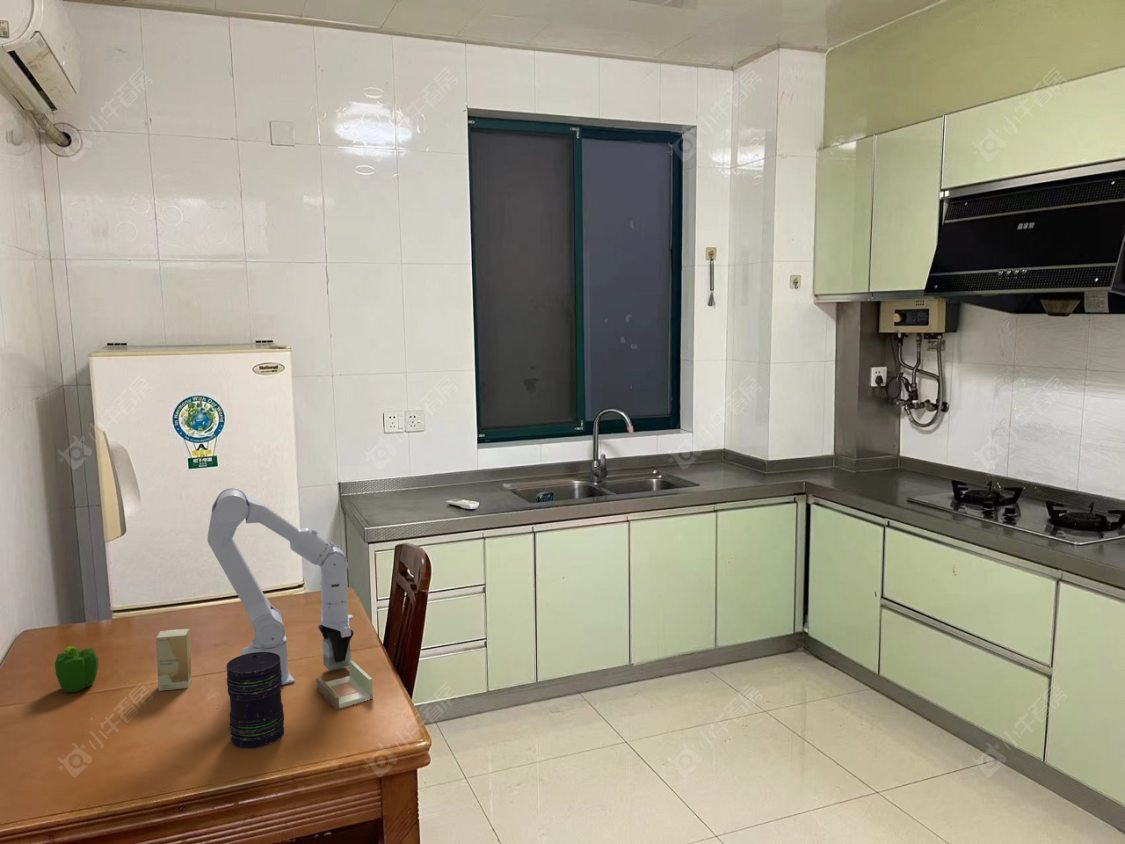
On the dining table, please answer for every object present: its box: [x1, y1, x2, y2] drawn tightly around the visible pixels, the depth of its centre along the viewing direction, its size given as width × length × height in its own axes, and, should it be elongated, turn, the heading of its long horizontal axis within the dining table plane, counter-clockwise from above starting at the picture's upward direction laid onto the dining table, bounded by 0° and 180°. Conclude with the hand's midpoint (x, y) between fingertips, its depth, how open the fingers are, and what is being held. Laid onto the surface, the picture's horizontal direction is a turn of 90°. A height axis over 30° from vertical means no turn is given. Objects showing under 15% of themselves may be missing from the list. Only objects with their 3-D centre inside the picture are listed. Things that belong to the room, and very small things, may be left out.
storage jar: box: [226, 652, 285, 750], centre depth 157 cm, size 10×10×15 cm
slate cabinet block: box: [322, 638, 352, 671], centre depth 187 cm, size 5×4×6 cm
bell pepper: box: [54, 645, 99, 693], centre depth 180 cm, size 8×8×10 cm
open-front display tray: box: [316, 659, 374, 710], centre depth 175 cm, size 8×12×4 cm, turn 34°
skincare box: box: [155, 628, 192, 692], centre depth 180 cm, size 6×4×12 cm
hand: (336, 657), depth 188 cm, fingers closed on slate cabinet block, 4 cm apart
